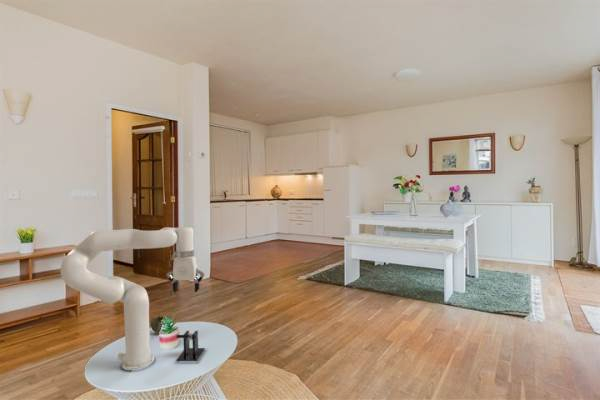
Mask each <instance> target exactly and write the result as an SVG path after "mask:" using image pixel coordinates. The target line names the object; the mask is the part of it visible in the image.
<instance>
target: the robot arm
mask: <svg viewBox="0 0 600 400" xmlns="http://www.w3.org/2000/svg"><path fill="white" fill-rule="evenodd" d="M194 241H195V240H194V229H193V228H192V227H191V226H181V227H180V226H179V227H166V226H165V227H162V228H161V229H159V230H157V229H156V230H141V229H136V228H124V229H123V228H122V229H104V228H99V229H95V230H94V231H92V232H91V233H90V234H88V236H86V238H84V239H83V240H82V241H81V242H79V243H78V244H77V245H76V246H75V247H74V248H73V249H72V250H70V251H69V252H68V253H67V254H66V255H65V256H64V258H63V259H62V261H61V264H60V277H61V279H62V281H63V282H64V283H65V285H66V286H68V287H69V288H71V289H73V290H76V291H77V292H80V293H82V294H85V295H88V296H90V297H93V298H95V299H97V300H99V301H102V302H104V303H108V304H114V303H117V302H120V303H123V317H124V341H125V343H124V344H125V345H124V346H125V352H118V354H117V361H122V363H121V367H122V369H123V370H124V371H133V370H137V369H141V368H144V367H147V366H148V365H150V364H152V363H153V362H154V361H155V356H154V355H153V354H151V336H150V335H151V334H150V333H151V331H150V298H149V295H148V291H147V290H146V289H145V287H143V286H142V285H140V284H137V283H135V282H133V281H131V280H128V279H126V278H123V277H121V276H117V275H111V276H108V277H106V276H104V275H101V274H99V273H96V272H93V271H90V270H89V269H88V268H87V267H88V265H89V264H90V262H92V261H93V260H94V259H95V258H96V257H98V255H100V254H101V253H102V252H109V251H111V252H112V251H121V250H122V251H123V250H141V249H142V250H143V249H162V248H170V247H173V246H174V245H175V248H176V249H175V251H173V255H174V256H175V257H174V260H173V268H172V270H171V271H169V272H167V273H166V277H167V278H168V280H169V281H170V282H171V284H172V290H173V293H176V292H178V291H179V282H178V281H194V293H197V292H198V291H199V290H200V282H201V281H202V280H203V279H204V277H205V275H206V273H205V272H204V271H202V270H201V269H199V268H198V262H197V258H196V256H195V248H194V247H195V246H194V244H195V243H194ZM199 275H200V276H199ZM198 276H199V277H198Z"/></svg>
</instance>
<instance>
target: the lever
mask: <svg viewBox="0 0 600 400" xmlns="http://www.w3.org/2000/svg"><path fill="white" fill-rule="evenodd" d="M192 335H193V333H189V334H188V335H184V334H177V335H176V339H183V338H187V340H189V341H191V340H192Z"/></svg>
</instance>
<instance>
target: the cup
mask: <svg viewBox="0 0 600 400" xmlns="http://www.w3.org/2000/svg"><path fill="white" fill-rule="evenodd" d="M165 317H166V316H162V315H161V316H160V315H157V316H154V317H152V318H151V319H150V318H149V323H150V328H151V330H152V331H153V333H154V334H155V335H157V336H158V335H160V334H159V332H160V330H161V327H162V324H161V320H162V319H163V318H165Z"/></svg>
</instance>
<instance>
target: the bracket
mask: <svg viewBox="0 0 600 400" xmlns="http://www.w3.org/2000/svg"><path fill="white" fill-rule="evenodd" d="M188 334H190V330H186V331H185V332H184V334H183V335H188ZM192 334H193V335H192V347H190V340H187V338H182V339H183V351H182V352H181V354H180V355H179V356H178V357H177V358H176V362H198V361H199V359H200V357H201V356H202V355H203V353H204V351H205V350H206V348H205V347H199V330H195V331H194V332H193V333H192Z"/></svg>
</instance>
